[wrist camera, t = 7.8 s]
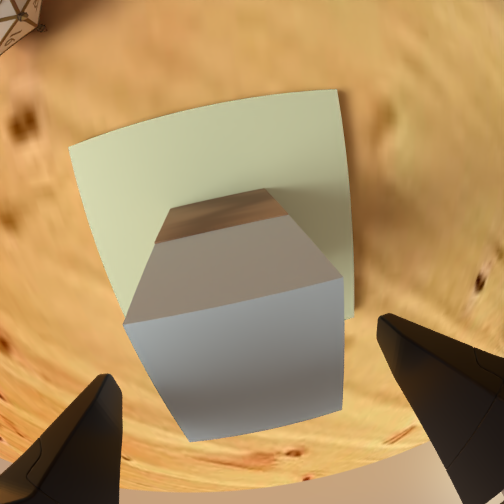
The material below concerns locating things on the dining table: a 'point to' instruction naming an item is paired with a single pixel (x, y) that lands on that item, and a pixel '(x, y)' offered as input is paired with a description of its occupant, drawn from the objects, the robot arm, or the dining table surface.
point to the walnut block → (219, 214)
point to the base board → (218, 176)
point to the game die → (18, 21)
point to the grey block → (241, 329)
